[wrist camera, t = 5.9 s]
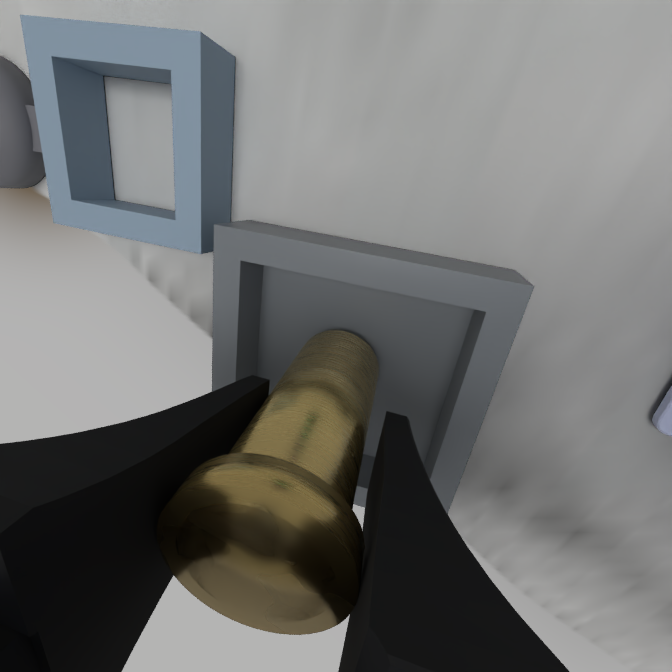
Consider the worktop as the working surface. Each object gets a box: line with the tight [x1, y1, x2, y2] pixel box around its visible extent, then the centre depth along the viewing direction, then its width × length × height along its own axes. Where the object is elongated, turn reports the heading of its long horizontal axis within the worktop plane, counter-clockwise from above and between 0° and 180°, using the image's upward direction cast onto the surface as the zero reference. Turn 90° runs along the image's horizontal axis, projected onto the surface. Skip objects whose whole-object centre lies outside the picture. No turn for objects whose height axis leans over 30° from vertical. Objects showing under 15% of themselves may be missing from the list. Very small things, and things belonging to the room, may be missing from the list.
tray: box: [212, 220, 534, 514], centre depth 14 cm, size 10×10×2 cm
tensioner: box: [0, 15, 235, 254], centre depth 13 cm, size 13×6×2 cm, turn 81°
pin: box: [157, 330, 379, 635], centre depth 10 cm, size 4×4×8 cm
